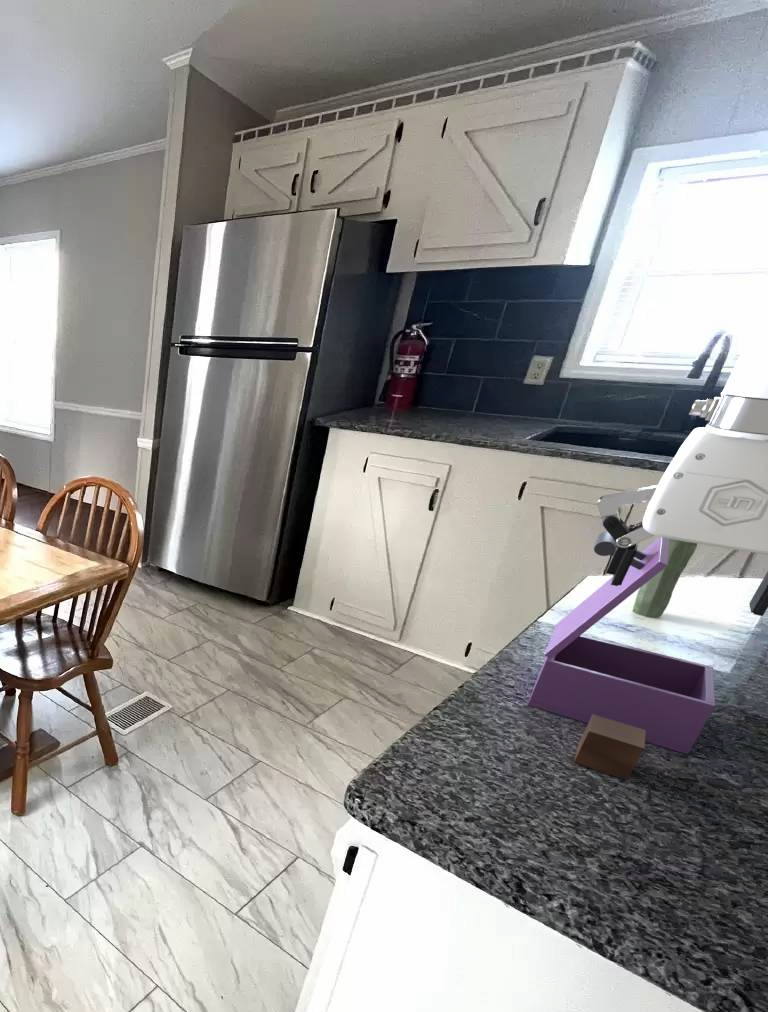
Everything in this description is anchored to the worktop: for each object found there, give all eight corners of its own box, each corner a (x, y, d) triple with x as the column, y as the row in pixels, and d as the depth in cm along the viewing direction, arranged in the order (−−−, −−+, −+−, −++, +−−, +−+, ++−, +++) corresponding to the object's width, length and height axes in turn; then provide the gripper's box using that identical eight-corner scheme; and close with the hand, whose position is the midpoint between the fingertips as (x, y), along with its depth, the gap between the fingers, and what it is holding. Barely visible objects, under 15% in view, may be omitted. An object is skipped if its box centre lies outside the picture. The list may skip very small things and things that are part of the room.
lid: (669, 539, 76) (617, 513, 78) (667, 565, 69) (610, 536, 71) (562, 628, 86) (519, 602, 88) (550, 659, 78) (504, 630, 81)
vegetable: (656, 633, 98) (718, 508, 89) (618, 625, 100) (675, 503, 92) (655, 623, 100) (715, 501, 92) (618, 615, 103) (673, 496, 95)
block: (629, 761, 71) (646, 730, 70) (627, 780, 69) (644, 748, 67) (577, 744, 74) (592, 713, 72) (573, 762, 72) (588, 730, 70)
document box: (687, 712, 79) (713, 666, 76) (687, 754, 72) (715, 706, 69) (540, 671, 89) (557, 629, 86) (527, 704, 82) (546, 660, 79)
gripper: (635, 413, 59) (563, 582, 66) (954, 438, 47) (825, 637, 55) (639, 404, 63) (571, 563, 71) (930, 425, 52) (813, 610, 59)
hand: (682, 595), depth 63 cm, fingers open, 9 cm apart
